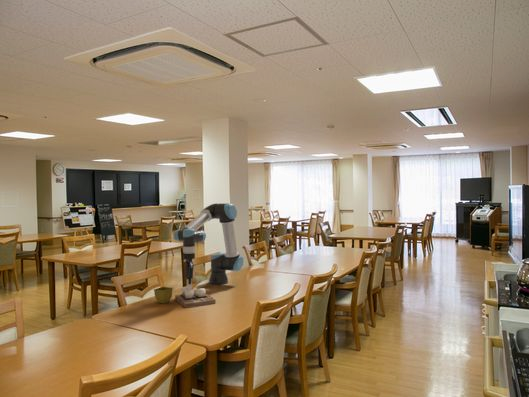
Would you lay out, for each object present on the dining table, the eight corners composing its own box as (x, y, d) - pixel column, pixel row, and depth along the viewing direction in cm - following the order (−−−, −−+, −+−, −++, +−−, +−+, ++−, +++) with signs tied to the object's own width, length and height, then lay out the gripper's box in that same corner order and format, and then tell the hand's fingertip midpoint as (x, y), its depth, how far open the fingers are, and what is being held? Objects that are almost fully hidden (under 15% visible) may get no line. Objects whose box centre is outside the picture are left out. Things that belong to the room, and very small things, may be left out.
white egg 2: (192, 296, 268) (192, 290, 268) (200, 295, 270) (200, 289, 270) (194, 298, 263) (194, 291, 263) (202, 296, 266) (202, 290, 265)
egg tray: (175, 298, 265) (175, 294, 265) (203, 295, 274) (203, 291, 274) (185, 307, 243) (185, 303, 243) (215, 303, 253) (215, 299, 253)
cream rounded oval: (184, 296, 257) (183, 290, 257) (192, 295, 260) (192, 289, 260) (186, 298, 252) (186, 292, 252) (194, 297, 255) (194, 291, 255)
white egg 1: (180, 293, 264) (180, 287, 264) (188, 292, 267) (188, 286, 267) (183, 295, 259) (182, 289, 259) (191, 294, 262) (191, 288, 262)
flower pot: (153, 303, 254) (153, 289, 254) (163, 299, 262) (162, 286, 262) (164, 304, 250) (163, 290, 250) (173, 301, 258) (173, 287, 258)
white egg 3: (195, 295, 261) (195, 288, 261) (203, 294, 263) (203, 287, 263) (198, 297, 256) (198, 290, 256) (206, 296, 258) (206, 289, 258)
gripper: (180, 251, 260) (180, 287, 260) (186, 254, 248) (186, 291, 248) (191, 251, 263) (191, 286, 263) (197, 253, 252) (197, 290, 252)
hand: (189, 288), depth 256 cm, fingers closed
